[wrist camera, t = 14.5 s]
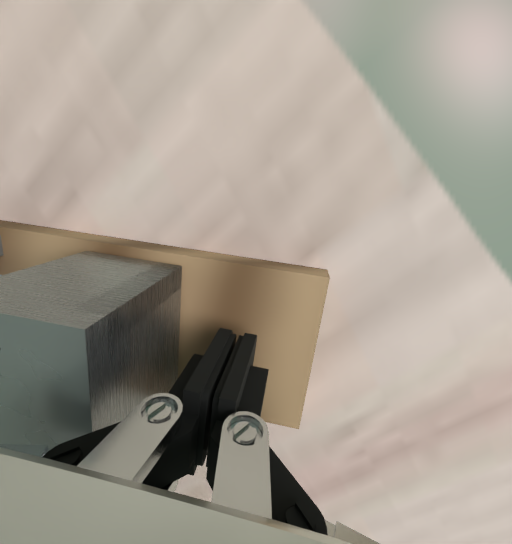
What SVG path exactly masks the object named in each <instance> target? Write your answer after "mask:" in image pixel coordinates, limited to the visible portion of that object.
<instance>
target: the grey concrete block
mask: <svg viewBox="0 0 512 544" xmlns="http://www.w3.org/2000/svg"><path fill="white" fill-rule="evenodd" d="M181 280H182V266H179V265H173V264H167V263H161V262H154V261H148V260H142V259H135V258H129V257H123V256H117V255H110V254H104V253H98V252H91V251H84V252H81V253H77V254H74V255H70V256H67V257H64V258H60V259H57V260H53V261H50V262H46V263H43V264H40V265H36V266H33V267H29V268H26V269H22V270H19V271H16V272H12V273H9V274H5V275H2V276H0V444H23V445H48V449H52V448H54V447H55V446H57V445H59V444H61V443H63V442H66V441H69V440H71V439H74V438H77V437H80V436H82V435H85V434H88V433H91V432H93V431H96V430H99V429H102V428H104V427H107V426H110V425H113V424H115V423H118V422H121V421H122V420H123V419H124V418H125V417H126V416H127V415H128V414H129V413H130V412H131V411H132V410H133V409H134V408H135V407H136V406H137V405H138V404H139V403H140V402H141V401H142V400H144V399H145V398H146V397H149V396H151V395H153V394H158V393H169V391H170V390H171V388H172V387H173V385H174V383H175V382H176V380H177V379H178V359H179V333H180V306H181Z"/></svg>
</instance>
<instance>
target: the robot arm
mask: <svg viewBox="0 0 512 544" xmlns="http://www.w3.org/2000/svg"><path fill="white" fill-rule="evenodd" d="M256 342H257V335H254V334H249V333H244V336H242V335H239V337H238V339H237V342H236V334H233V331H232V330H229V329H224V328H219V330H218V332H217V333H216V335H215V337H214V338H213V340H212V342H211V343H210V345H209V347H208V349H207V350H206V352H205V354H204V355H199V354H194V355H193V356H192V357H191V359H190V360H189V362H188V363H187V365H186V367H185V368H184V370H183V371H182V373H181V374H180V376H179V377H178V379H177V380H176V382H175V383H174V385H173V387H172V388H171V390H170V391H169V393H158V394H153V395H151V396H149V397H146V398H145V399H144V400H142V401H141V402H140V403H139V404H138V405H137V406H136V407H135V408H134V409H133V410H132V411H131V412H130V413H129V414H128V415H127V416H126V417H125V418H124V419H123V420H122V421H121V422H118V423H115V424H113V425H110V426H107V427H104V428H102V429H99V430H96V431H93V432H91V433H88V434H85V435H82V436H80V437H77V438H74V439H71V440H69V441H66V442H63V443H61V444H59V445H57V446H55V447H54V448H52V449H48V445H23V444H0V544H379V543H378V542H376V541H374V540H372V539H370V538H368V537H366V536H364V535H362V534H360V533H358V532H356V531H355V530H353V529H351V528H349V527H347V526H345V525H343V524H341V523H339V522H336V525H334V524H332V523H330V522H328V521H326V520H324V517H323V515H322V514H321V512H320V510H319V509H318V507H317V506H316V505H315V504H314V502H313V501H312V500H311V499H310V497H309V496H308V495H307V493H306V492H305V491H304V490H303V488H302V487H301V486H300V485H299V483H298V482H297V481H296V480H295V478H294V477H293V476H292V474H291V473H290V472H289V471H288V469H287V468H286V467H285V466H284V464H283V463H282V462H281V461H280V459H279V458H278V457H277V455H276V454H275V453H274V452H273V450H272V449H271V448H270V447H269V434H268V428H267V425H266V423H265V422H264V420H263V419H262V418H261V411H262V406H263V400H264V394H265V389H266V383H267V377H268V371H269V369H266V368H261V367H256V366H253V362H254V355H255V349H256ZM206 455H207V462H206V467H208V468H207V477H206V479H207V481H208V483H209V485H210V486H211V488H212V490H213V494H212V501H211V502H208V501H204V500H201V499H197V498H193V497H189V496H186V495H182V494H178V493H175V492H174V491H175V489H176V486H177V484H178V479H179V478H181V477H183V476H185V475H187V474H190V475H194V473H195V470H196V467H197V465H201V466H203V464H204V461H205V458H206Z"/></svg>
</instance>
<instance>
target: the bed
mask: <svg viewBox="0 0 512 544" xmlns="http://www.w3.org/2000/svg"><path fill="white" fill-rule="evenodd" d="M84 251H91V252H98V253H104V254H110V255H117V256H123V257H129V258H135V259H142V260H148V261H154V262H161V263H167V264H173V265H179V266H182V280H181V306H180V333H179V359H178V377H179V376H180V374H181V373H182V371H183V370H184V368H185V367H186V365H187V363H188V362H189V360H190V359H191V357H192V356H193V355H194V354H199V355H204V354H205V352H206V350H207V349H208V347H209V345H210V343H211V342H212V340H213V338H214V337H215V335H216V333H217V332H218V330H219V328H224V329H229V330H232V331H233V334H236V342H237V339H238V337H239V335H242V336H244V333H249V334H254V335H257V342H256V349H255V355H254V362H253V366H256V367H261V368H266V369H269V371H268V377H267V383H266V389H265V394H264V400H263V406H262V411H261V418H262V419H263V420H264V422H269V423H273V424H278V425H283V426H287V427H292V428H296V429H299V425H300V421H301V416H302V411H303V406H304V401H305V396H306V391H307V386H308V382H309V377H310V372H311V367H312V362H313V357H314V352H315V347H316V342H317V338H318V333H319V328H320V323H321V318H322V313H323V308H324V303H325V298H326V294H327V289H328V284H329V279H330V277H329V274H328V271H327V270H325V269H319V268H312V267H305V266H299V265H292V264H286V263H279V262H272V261H266V260H259V259H253V258H246V257H239V256H233V255H226V254H220V253H213V252H206V251H200V250H193V249H187V248H180V247H173V246H167V245H160V244H154V243H147V242H140V241H134V240H127V239H121V238H114V237H107V236H101V235H94V234H88V233H81V232H74V231H68V230H61V229H55V228H48V227H41V226H35V225H28V224H22V223H15V222H8V221H2V220H0V275H5V274H9V273H12V272H16V271H19V270H22V269H26V268H29V267H33V266H36V265H40V264H43V263H46V262H50V261H53V260H57V259H60V258H64V257H67V256H70V255H74V254H77V253H81V252H84Z"/></svg>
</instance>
